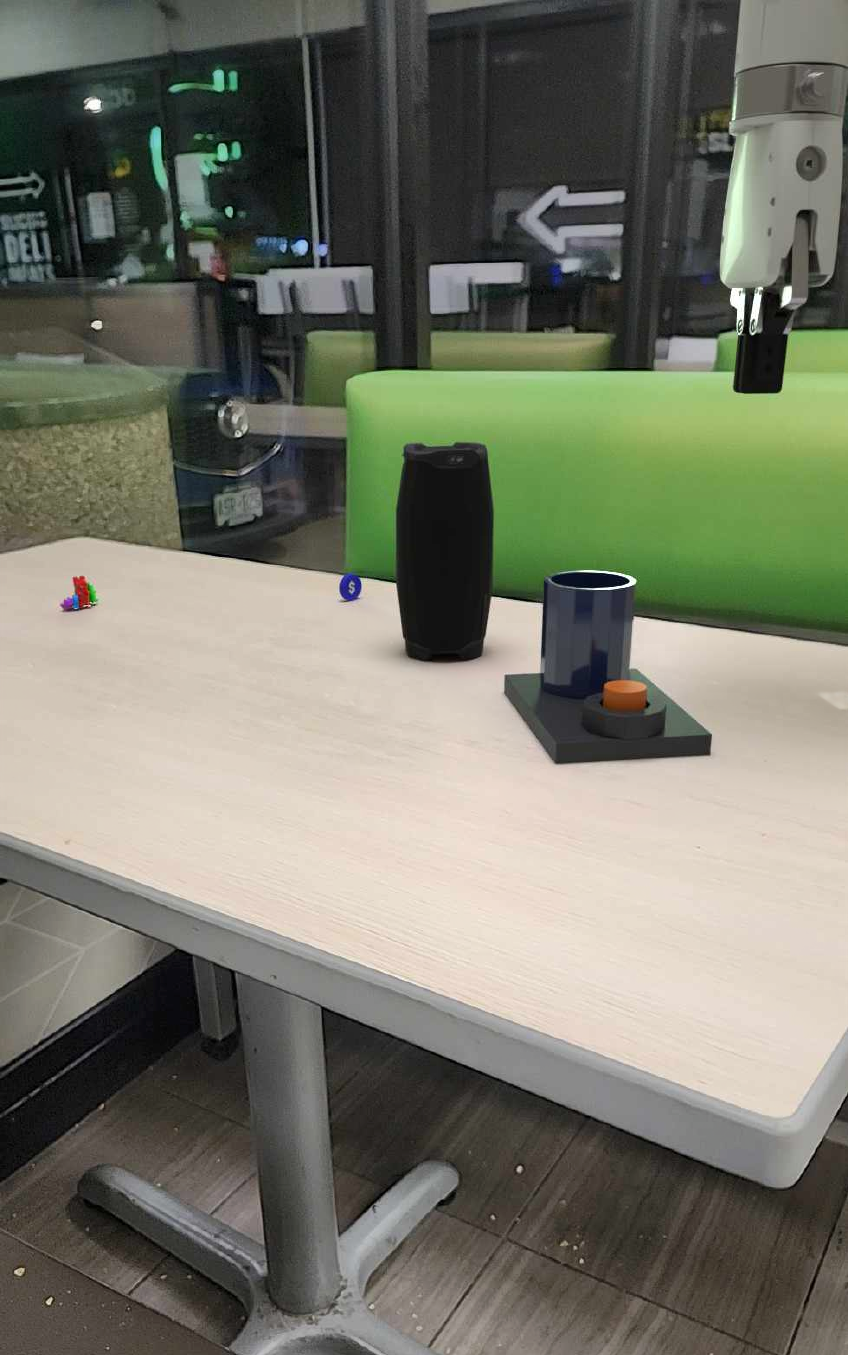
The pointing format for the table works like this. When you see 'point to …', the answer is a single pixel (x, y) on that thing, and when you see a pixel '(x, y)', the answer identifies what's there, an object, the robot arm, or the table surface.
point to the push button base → (606, 724)
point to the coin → (350, 586)
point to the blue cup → (586, 631)
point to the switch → (625, 695)
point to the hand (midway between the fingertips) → (756, 392)
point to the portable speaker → (444, 549)
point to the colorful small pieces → (80, 594)
